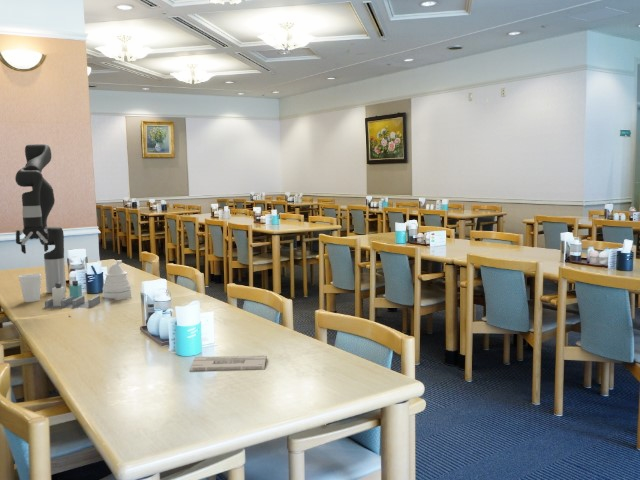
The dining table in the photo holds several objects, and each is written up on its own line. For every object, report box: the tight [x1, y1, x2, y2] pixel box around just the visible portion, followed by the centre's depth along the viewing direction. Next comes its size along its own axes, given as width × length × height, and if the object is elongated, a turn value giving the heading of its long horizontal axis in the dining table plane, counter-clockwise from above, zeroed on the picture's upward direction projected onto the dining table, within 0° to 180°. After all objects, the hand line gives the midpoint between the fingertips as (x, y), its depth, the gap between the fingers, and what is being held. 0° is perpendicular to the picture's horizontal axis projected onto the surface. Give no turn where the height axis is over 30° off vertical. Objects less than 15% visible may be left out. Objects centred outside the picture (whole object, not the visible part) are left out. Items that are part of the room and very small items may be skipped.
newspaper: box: [189, 354, 268, 373], centre depth 174 cm, size 23×12×2 cm, turn 92°
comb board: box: [42, 295, 102, 309], centre depth 258 cm, size 12×22×4 cm, turn 91°
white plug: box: [51, 283, 67, 306], centre depth 257 cm, size 4×4×10 cm
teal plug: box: [68, 280, 83, 299], centre depth 268 cm, size 4×4×10 cm
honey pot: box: [102, 259, 132, 301], centre depth 277 cm, size 13×13×18 cm
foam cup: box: [18, 273, 42, 303], centre depth 269 cm, size 10×9×13 cm
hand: (35, 252), depth 256 cm, fingers open, 8 cm apart
